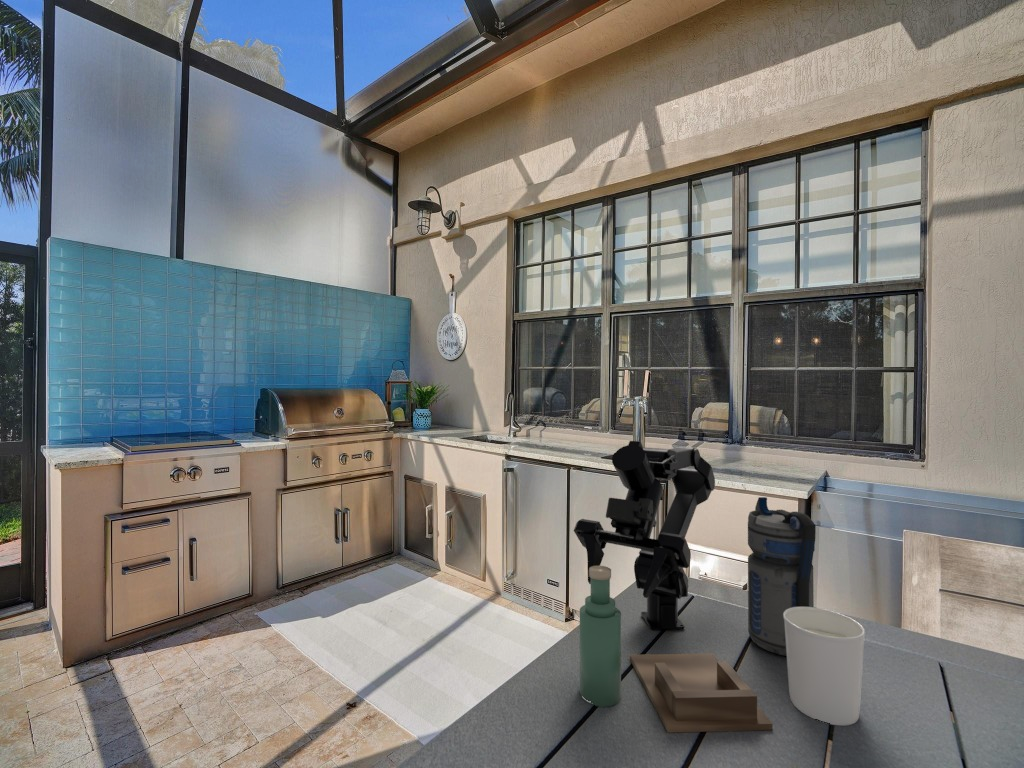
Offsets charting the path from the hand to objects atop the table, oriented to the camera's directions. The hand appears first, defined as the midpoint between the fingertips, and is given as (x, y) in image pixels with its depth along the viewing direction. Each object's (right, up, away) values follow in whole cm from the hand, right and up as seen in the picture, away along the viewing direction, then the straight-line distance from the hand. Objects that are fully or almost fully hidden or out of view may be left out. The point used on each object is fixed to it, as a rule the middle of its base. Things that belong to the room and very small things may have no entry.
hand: (616, 589), depth 77 cm
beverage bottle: (+31, -14, +8) cm, 35 cm away
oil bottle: (-3, -13, -5) cm, 15 cm away
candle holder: (+28, -13, -8) cm, 32 cm away
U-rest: (+11, -13, -4) cm, 17 cm away
